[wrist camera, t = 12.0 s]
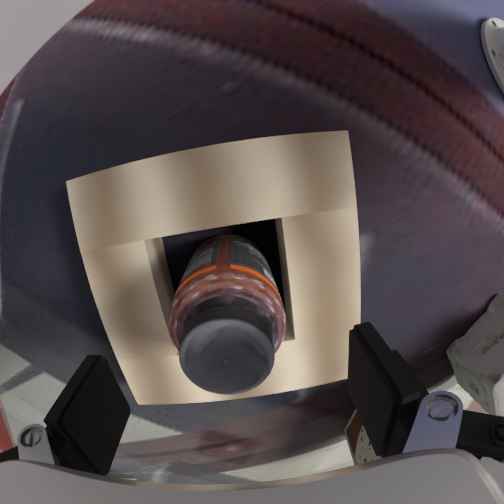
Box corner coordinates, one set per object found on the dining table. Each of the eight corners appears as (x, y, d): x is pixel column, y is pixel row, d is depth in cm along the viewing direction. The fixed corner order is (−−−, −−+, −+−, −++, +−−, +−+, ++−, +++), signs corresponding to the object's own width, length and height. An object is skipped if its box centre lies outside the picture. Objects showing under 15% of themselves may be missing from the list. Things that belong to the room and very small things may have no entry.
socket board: (328, 137, 20) (347, 130, 16) (342, 349, 25) (357, 375, 21) (92, 178, 20) (66, 181, 16) (148, 376, 24) (138, 404, 21)
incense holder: (496, 284, 25) (558, 320, 15) (502, 330, 27) (550, 367, 17) (440, 339, 26) (496, 394, 16) (451, 378, 28) (495, 429, 18)
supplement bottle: (179, 290, 22) (139, 385, 11) (205, 219, 21) (175, 270, 10) (249, 317, 23) (261, 422, 12) (281, 250, 22) (323, 324, 11)
